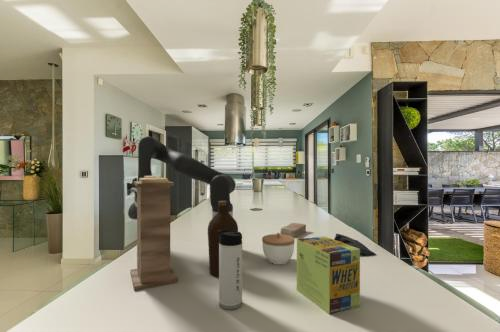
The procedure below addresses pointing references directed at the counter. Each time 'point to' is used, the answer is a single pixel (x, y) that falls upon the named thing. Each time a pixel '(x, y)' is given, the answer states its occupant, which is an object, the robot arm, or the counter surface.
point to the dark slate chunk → (354, 244)
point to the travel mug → (230, 269)
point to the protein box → (328, 273)
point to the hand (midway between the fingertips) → (148, 179)
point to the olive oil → (218, 235)
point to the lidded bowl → (278, 248)
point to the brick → (293, 229)
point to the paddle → (153, 180)
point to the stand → (153, 236)
